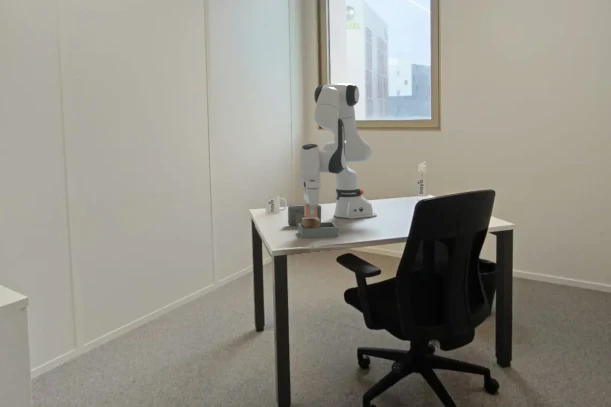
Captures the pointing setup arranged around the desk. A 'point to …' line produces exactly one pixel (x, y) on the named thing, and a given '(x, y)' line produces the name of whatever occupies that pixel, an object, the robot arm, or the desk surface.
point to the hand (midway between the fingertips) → (310, 212)
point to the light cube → (307, 211)
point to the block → (311, 222)
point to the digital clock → (299, 214)
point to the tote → (319, 230)
